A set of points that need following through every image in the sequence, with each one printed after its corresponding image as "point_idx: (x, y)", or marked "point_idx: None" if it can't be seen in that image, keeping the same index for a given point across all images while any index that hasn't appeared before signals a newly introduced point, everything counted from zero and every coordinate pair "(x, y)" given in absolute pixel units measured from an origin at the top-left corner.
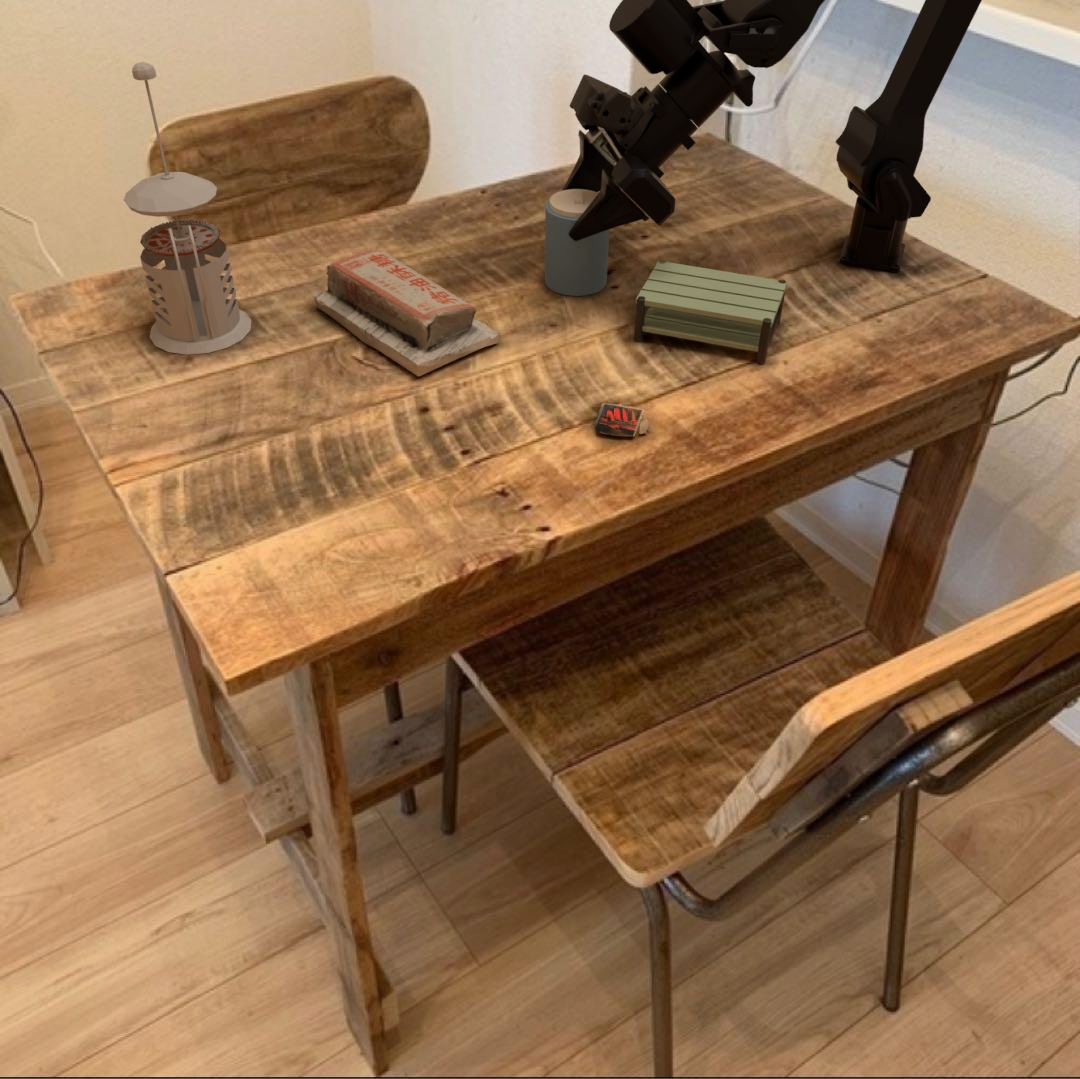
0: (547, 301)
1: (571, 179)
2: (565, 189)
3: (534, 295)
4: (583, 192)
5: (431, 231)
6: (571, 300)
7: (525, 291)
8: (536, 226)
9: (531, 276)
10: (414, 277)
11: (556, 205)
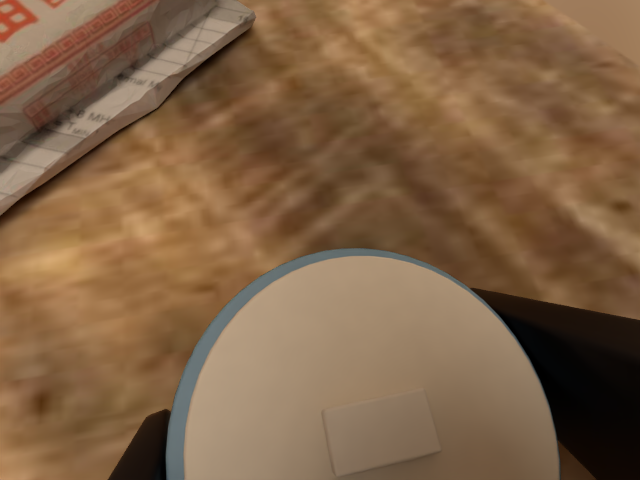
0: None
1: (591, 340)
2: (527, 319)
3: None
4: (506, 444)
5: (480, 62)
6: None
7: None
8: (603, 259)
9: None
10: (40, 6)
11: (276, 304)
